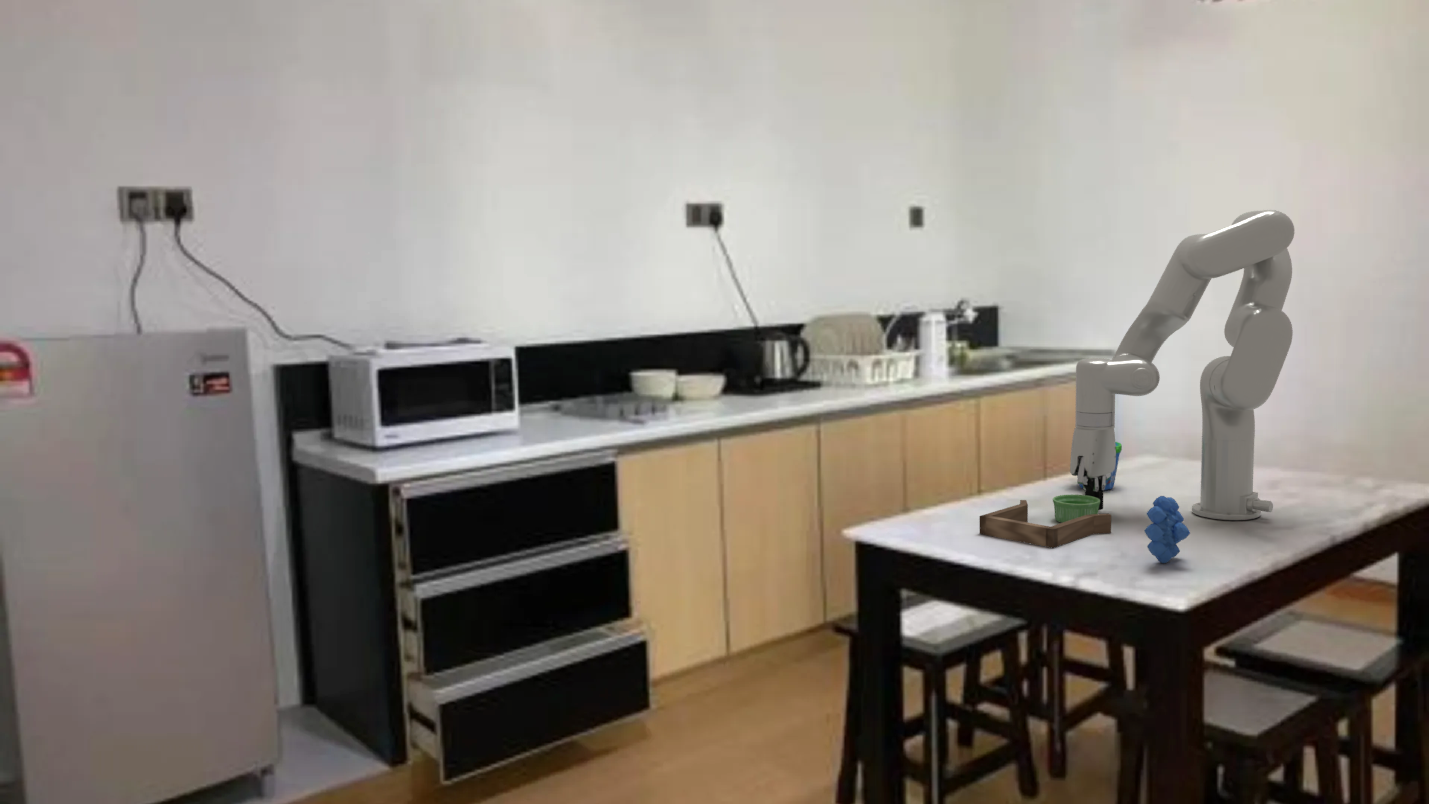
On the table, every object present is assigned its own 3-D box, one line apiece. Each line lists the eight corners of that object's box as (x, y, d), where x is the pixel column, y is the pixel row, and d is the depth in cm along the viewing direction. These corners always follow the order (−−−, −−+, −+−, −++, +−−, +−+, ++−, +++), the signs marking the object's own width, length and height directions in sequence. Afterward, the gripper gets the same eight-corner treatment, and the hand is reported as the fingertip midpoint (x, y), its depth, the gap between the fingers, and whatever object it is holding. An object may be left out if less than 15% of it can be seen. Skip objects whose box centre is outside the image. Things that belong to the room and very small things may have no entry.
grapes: (1175, 575, 188) (1176, 504, 186) (1135, 568, 193) (1136, 498, 191) (1202, 559, 196) (1204, 491, 195) (1163, 553, 201) (1165, 487, 199)
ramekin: (1099, 527, 221) (1099, 505, 220) (1050, 524, 224) (1051, 502, 223) (1100, 516, 229) (1101, 495, 228) (1054, 514, 232) (1054, 493, 231)
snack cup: (1114, 496, 246) (1115, 450, 245) (1064, 493, 251) (1065, 447, 250) (1126, 482, 260) (1127, 438, 258) (1079, 479, 265) (1079, 436, 264)
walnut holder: (1112, 532, 216) (1113, 514, 216) (1062, 550, 205) (1063, 531, 205) (1022, 516, 231) (1022, 499, 231) (970, 532, 220) (970, 514, 220)
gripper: (1098, 414, 236) (1097, 500, 238) (1057, 422, 226) (1057, 512, 229) (1131, 417, 230) (1130, 505, 233) (1091, 426, 221) (1090, 518, 223)
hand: (1093, 509), depth 231 cm, fingers closed
